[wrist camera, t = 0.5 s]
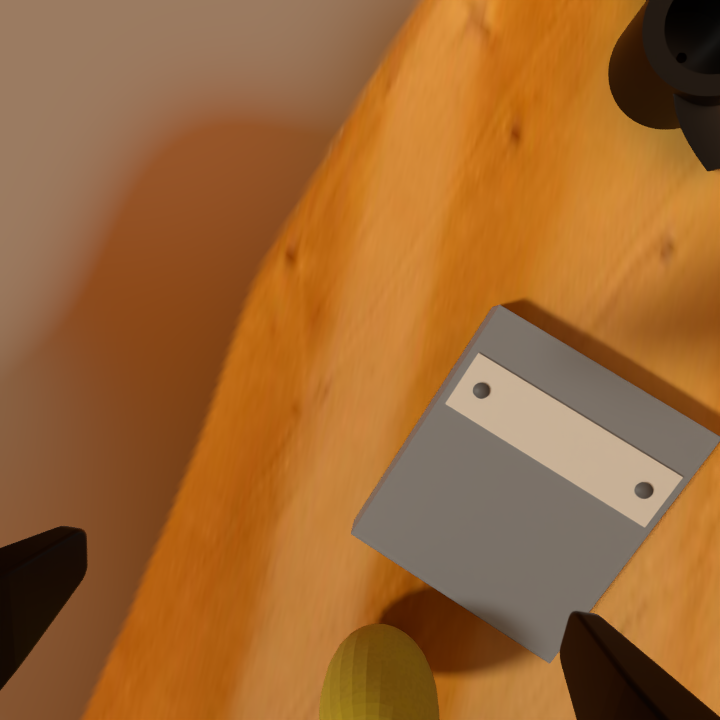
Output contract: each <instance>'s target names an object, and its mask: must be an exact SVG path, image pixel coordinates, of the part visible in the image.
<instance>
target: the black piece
mask: <svg viewBox="0 0 720 720" xmlns="http://www.w3.org/2000/svg"><path fill="white" fill-rule="evenodd" d="M608 77H609V85H610V89H611V93H612V95H613V98H614V100H615V102H616V103H617V105H618V106H619V108H620V109H621V110H622V111H623V112H624V113H625V114H626V115H627V116H628V117H629V118H631V119H632V120H634V121H635V122H637V123H639V124H641V125H644V126H646V127H650V128H654V129H677V128H681V129H682V131H683V133H684V136H685V138H686V139H687V141H688V143H689V145H690V146H691V148H692V150H693V151H694V153H695V154H696V156H697V157H698V159H699V160H700V162H701V163H702V165H703V166H704V167H705V169H706V170H707V171H713V170H717V169H720V0H646V2H645V3H644V5H643V6H642V8H641V9H640V10H639V12H638V13H637V14H636V16H635V17H634V18H633V20H632V21H631V22H630V24H629V25H628V26H627V28H626V29H625V31H624V32H623V33H622V35H621V36H620V38H619V39H618V41H617V43H616V45H615V47H614V49H613V52H612V55H611V58H610V63H609V72H608Z"/></svg>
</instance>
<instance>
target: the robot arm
mask: <svg viewBox="0 0 720 720" xmlns="http://www.w3.org/2000/svg"><path fill="white" fill-rule="evenodd" d="M86 570H87V536H86V533H85V531H84V530H82V529H80V528H75V527H69V526H60V527H57V528H54V529H51V530H48V531H45V532H43V533H40V534H37V535H35V536H32V537H29V538H27V539H24V540H21V541H18V542H16V543H13V544H10V545H7V546H5V547H2V548H0V690H1V689H2V688H3V687H4V685H5V684H6V683H7V682H8V680H9V679H10V678H11V677H12V675H13V674H14V673H15V672H16V671H17V669H18V668H19V667H20V665H21V664H22V663H23V661H24V660H25V658H26V657H27V656H28V655H29V653H30V652H31V651H32V649H33V648H34V646H35V645H36V644H37V642H38V641H39V640H40V638H41V637H42V635H43V634H44V632H45V631H46V630H47V629H48V627H49V626H50V624H51V623H52V622H53V620H54V619H55V617H56V616H57V615H58V613H59V612H60V610H61V609H62V608H63V606H64V605H65V604H66V602H67V601H68V600H69V598H70V597H71V595H72V594H73V593H74V591H75V590H76V588H77V587H78V586H79V584H80V582H81V581H82V580H83V578H84V576H85V573H86ZM560 660H561V665H562V669H563V672H564V676H565V679H566V683H567V686H568V690H569V694H570V697H571V701H572V704H573V708H574V711H575V715H576V718H577V720H720V717H719V716H718V715H717V714H716V713H715V712H713V711H712V710H711V709H710V708H709V707H707V706H706V705H705V704H704V703H703V702H701V701H700V700H699V699H698V698H697V697H696V696H694V695H693V694H692V693H691V692H690V691H688V690H687V689H686V688H685V687H684V686H682V685H681V684H680V683H679V682H678V681H677V680H675V679H674V678H673V677H672V676H671V675H669V674H668V673H667V672H666V671H665V670H663V669H662V668H661V667H660V666H659V665H658V664H656V663H655V662H654V661H653V660H652V659H650V658H649V657H648V656H647V655H646V654H644V653H643V652H642V651H641V650H640V649H639V648H637V647H636V646H635V645H634V644H633V643H631V642H630V641H629V640H628V639H627V638H625V637H624V636H623V635H622V634H621V633H620V632H618V631H617V630H616V629H615V628H614V627H612V626H611V625H610V624H609V623H608V622H606V621H605V620H604V619H603V618H602V617H600V616H599V615H597V614H594V613H589V612H583V611H573V612H571V614H570V615H569V618H568V621H567V625H566V628H565V632H564V635H563V639H562V642H561V646H560Z"/></svg>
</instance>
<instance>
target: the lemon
mask: <svg viewBox="0 0 720 720" xmlns="http://www.w3.org/2000/svg"><path fill="white" fill-rule="evenodd" d="M319 720H439V706H438V698H437V690H436V685H435V680H434V677H433V674H432V672H431V669H430V667H429V664H428V662H427V659H426V657H425V655H424V653H423V652H422V650H421V649H420V648H419V646H418V645H417V644H416V642H415V641H414V640H413V639H412V638H411V637H410V636H408V635H407V634H406V633H405V632H403V631H402V630H400V629H398V628H396V627H394V626H390V625H386V624H371V625H367V626H363V627H361V628H359V629H358V630H356V631H354V632H353V633H351V634H350V635H349V636H348V637H347V638H346V639H345V640H344V641H343V642H342V643H341V644H340V646H339V648H338V649H337V651H336V653H335V654H334V656H333V658H332V660H331V662H330V664H329V666H328V669H327V672H326V676H325V680H324V684H323V688H322V692H321V698H320V710H319Z"/></svg>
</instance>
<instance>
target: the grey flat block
mask: <svg viewBox="0 0 720 720" xmlns="http://www.w3.org/2000/svg"><path fill="white" fill-rule="evenodd" d="M719 441H720V436H718V435H716V434H715V433H713V432H711V431H710V430H708V429H706V428H705V427H703V426H701V425H700V424H698V423H696V422H695V421H693V420H691V419H690V418H688V417H686V416H685V415H683V414H681V413H680V412H678V411H676V410H675V409H673V408H671V407H670V406H668V405H666V404H665V403H663V402H661V401H660V400H658V399H656V398H655V397H653V396H651V395H650V394H648V393H646V392H645V391H643V390H641V389H640V388H638V387H636V386H635V385H633V384H631V383H630V382H628V381H626V380H625V379H623V378H621V377H620V376H618V375H616V374H615V373H613V372H611V371H610V370H608V369H606V368H605V367H603V366H601V365H600V364H598V363H596V362H595V361H593V360H591V359H590V358H588V357H586V356H585V355H583V354H581V353H579V352H578V351H576V350H574V349H573V348H571V347H569V346H568V345H566V344H564V343H563V342H561V341H559V340H558V339H556V338H554V337H553V336H551V335H549V334H548V333H546V332H544V331H543V330H541V329H539V328H538V327H536V326H534V325H533V324H531V323H529V322H528V321H526V320H524V319H523V318H521V317H519V316H518V315H516V314H514V313H513V312H511V311H509V310H508V309H506V308H504V307H503V306H501V305H497V306H494V307H492V308H491V310H490V312H489V313H488V315H487V316H486V318H485V319H484V321H483V322H482V324H481V325H480V327H479V328H478V330H477V332H476V333H475V335H474V336H473V338H472V339H471V341H470V342H469V344H468V345H467V347H466V349H465V350H464V352H463V353H462V355H461V356H460V358H459V359H458V361H457V362H456V364H455V365H454V367H453V369H452V370H451V372H450V373H449V375H448V376H447V378H446V379H445V381H444V382H443V384H442V386H441V387H440V389H439V390H438V392H437V393H436V395H435V396H434V398H433V399H432V401H431V402H430V404H429V406H428V407H427V409H426V410H425V412H424V413H423V415H422V416H421V418H420V419H419V421H418V423H417V424H416V426H415V427H414V429H413V430H412V432H411V433H410V435H409V436H408V438H407V440H406V441H405V443H404V444H403V446H402V447H401V449H400V450H399V452H398V453H397V455H396V456H395V458H394V460H393V461H392V463H391V464H390V466H389V467H388V469H387V470H386V472H385V473H384V475H383V477H382V478H381V480H380V481H379V483H378V484H377V486H376V487H375V489H374V490H373V492H372V493H371V495H370V497H369V498H368V500H367V501H366V503H365V504H364V506H363V507H362V509H361V510H360V512H359V514H358V515H357V517H356V518H355V520H354V523H353V527H352V531H351V534H352V535H354V536H355V537H357V538H358V539H360V540H361V541H363V542H364V543H366V544H367V545H369V546H370V547H372V548H373V549H375V550H377V551H378V552H380V553H381V554H383V555H384V556H386V557H387V558H389V559H390V560H392V561H393V562H395V563H396V564H398V565H400V566H401V567H403V568H404V569H406V570H407V571H409V572H410V573H412V574H413V575H415V576H416V577H418V578H419V579H421V580H423V581H424V582H426V583H427V584H429V585H430V586H432V587H433V588H435V589H436V590H438V591H439V592H441V593H442V594H444V595H445V596H447V597H449V598H450V599H452V600H453V601H455V602H456V603H458V604H459V605H461V606H462V607H464V608H465V609H467V610H468V611H470V612H472V613H473V614H475V615H476V616H478V617H479V618H481V619H482V620H484V621H485V622H487V623H488V624H490V625H491V626H493V627H495V628H496V629H498V630H499V631H501V632H502V633H504V634H505V635H507V636H508V637H510V638H511V639H513V640H514V641H516V642H517V643H519V644H521V645H522V646H524V647H525V648H527V649H528V650H530V651H531V652H533V653H534V654H536V655H537V656H539V657H540V658H542V659H544V660H545V661H547V662H548V663H551V661H552V660H553V659H554V657H555V656H556V655H557V653H558V652H559V651H560V646H561V642H562V639H563V635H564V632H565V628H566V625H567V621H568V618H569V615H570V614H571V612H573V611H583V612H590V610H591V609H592V608H593V606H594V605H595V604H596V602H597V601H598V600H599V598H600V597H601V596H602V594H603V593H604V592H605V591H606V589H607V588H608V587H609V585H610V584H611V583H612V581H613V580H614V579H615V577H616V576H617V575H618V574H619V572H620V571H621V570H622V568H623V567H624V566H625V564H626V563H627V562H628V560H629V559H630V558H631V557H632V555H633V554H634V553H635V551H636V550H637V549H638V547H639V546H640V545H641V543H642V542H643V541H644V540H645V538H646V537H647V536H648V534H649V533H650V532H651V530H652V529H653V528H654V526H655V525H656V524H657V523H658V521H659V520H660V519H661V517H662V516H663V515H664V513H665V512H666V511H667V509H668V508H669V507H670V506H671V504H672V503H673V502H674V500H675V499H676V498H677V496H678V495H679V494H680V492H681V491H682V490H683V489H684V487H685V486H686V485H687V483H688V482H689V481H690V479H691V478H692V477H693V475H694V474H695V473H696V472H697V470H698V469H699V468H700V466H701V465H702V464H703V462H704V461H705V460H706V458H707V457H708V456H709V455H710V453H711V452H712V451H713V449H714V448H715V447H716V445H717V444H718V443H719Z"/></svg>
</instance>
